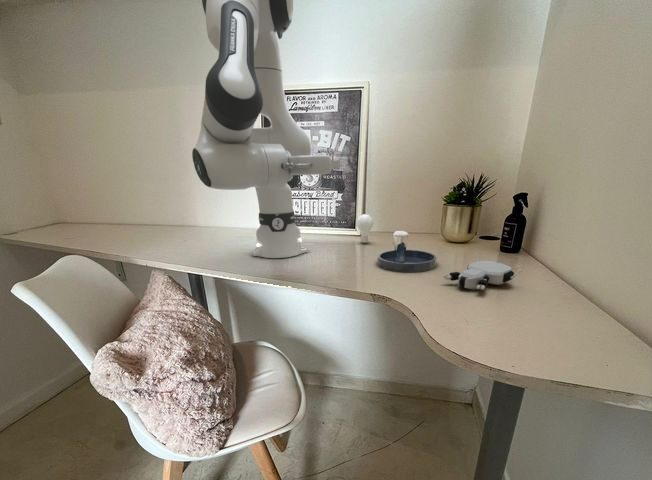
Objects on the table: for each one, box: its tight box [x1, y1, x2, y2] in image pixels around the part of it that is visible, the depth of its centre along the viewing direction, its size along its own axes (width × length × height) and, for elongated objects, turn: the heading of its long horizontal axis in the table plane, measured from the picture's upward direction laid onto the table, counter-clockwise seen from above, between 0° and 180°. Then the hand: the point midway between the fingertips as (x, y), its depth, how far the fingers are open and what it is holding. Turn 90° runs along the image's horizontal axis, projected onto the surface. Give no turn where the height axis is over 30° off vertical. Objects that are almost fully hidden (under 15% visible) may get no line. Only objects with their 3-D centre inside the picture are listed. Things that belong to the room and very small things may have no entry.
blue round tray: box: [377, 249, 438, 273], centre depth 101 cm, size 17×17×2 cm
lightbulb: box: [356, 213, 374, 244], centre depth 128 cm, size 6×6×11 cm
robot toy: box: [443, 259, 523, 291], centre depth 82 cm, size 12×4×15 cm
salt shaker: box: [392, 230, 409, 262], centre depth 102 cm, size 4×5×10 cm
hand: (328, 165), depth 80 cm, fingers open, 8 cm apart
